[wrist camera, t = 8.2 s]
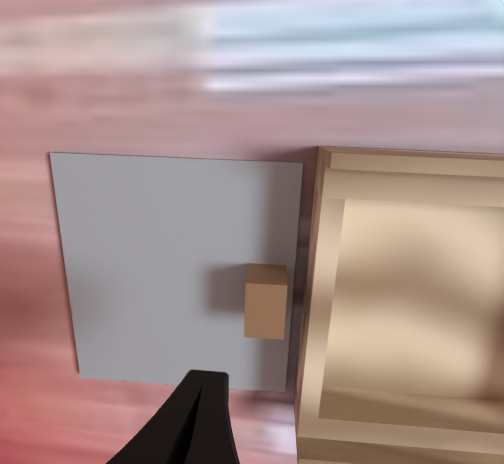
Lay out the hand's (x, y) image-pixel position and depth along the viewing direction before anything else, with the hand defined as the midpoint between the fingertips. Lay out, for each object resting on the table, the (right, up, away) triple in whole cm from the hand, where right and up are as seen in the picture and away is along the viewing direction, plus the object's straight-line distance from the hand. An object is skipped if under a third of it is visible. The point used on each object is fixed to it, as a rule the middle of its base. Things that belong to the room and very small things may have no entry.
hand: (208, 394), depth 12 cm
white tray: (-3, +3, +9) cm, 9 cm away
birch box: (+11, +2, +7) cm, 14 cm away
